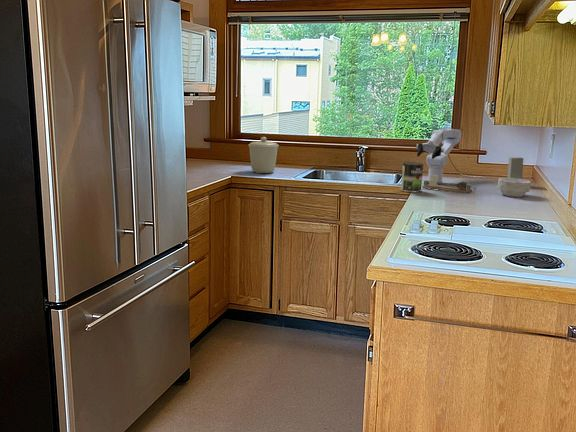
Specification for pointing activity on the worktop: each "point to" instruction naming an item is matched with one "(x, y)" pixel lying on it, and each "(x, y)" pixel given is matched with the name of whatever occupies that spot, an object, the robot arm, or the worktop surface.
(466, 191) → the cable cradle
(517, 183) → the paper bowls
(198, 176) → the worktop surface
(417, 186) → the coffee can
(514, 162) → the skincare box
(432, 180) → the marker sleeve
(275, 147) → the canister
